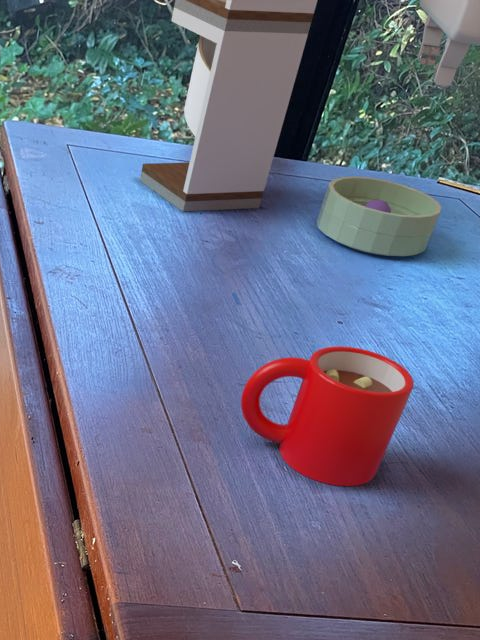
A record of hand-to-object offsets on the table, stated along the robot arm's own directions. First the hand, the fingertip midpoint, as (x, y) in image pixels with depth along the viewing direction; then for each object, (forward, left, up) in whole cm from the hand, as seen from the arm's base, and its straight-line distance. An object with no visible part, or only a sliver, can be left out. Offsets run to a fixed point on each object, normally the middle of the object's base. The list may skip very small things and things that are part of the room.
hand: (432, 73), depth 109 cm
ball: (0, -1, -16) cm, 16 cm away
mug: (+14, +55, -18) cm, 60 cm away
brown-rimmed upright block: (+21, -6, -18) cm, 29 cm away
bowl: (0, 0, -18) cm, 18 cm away
